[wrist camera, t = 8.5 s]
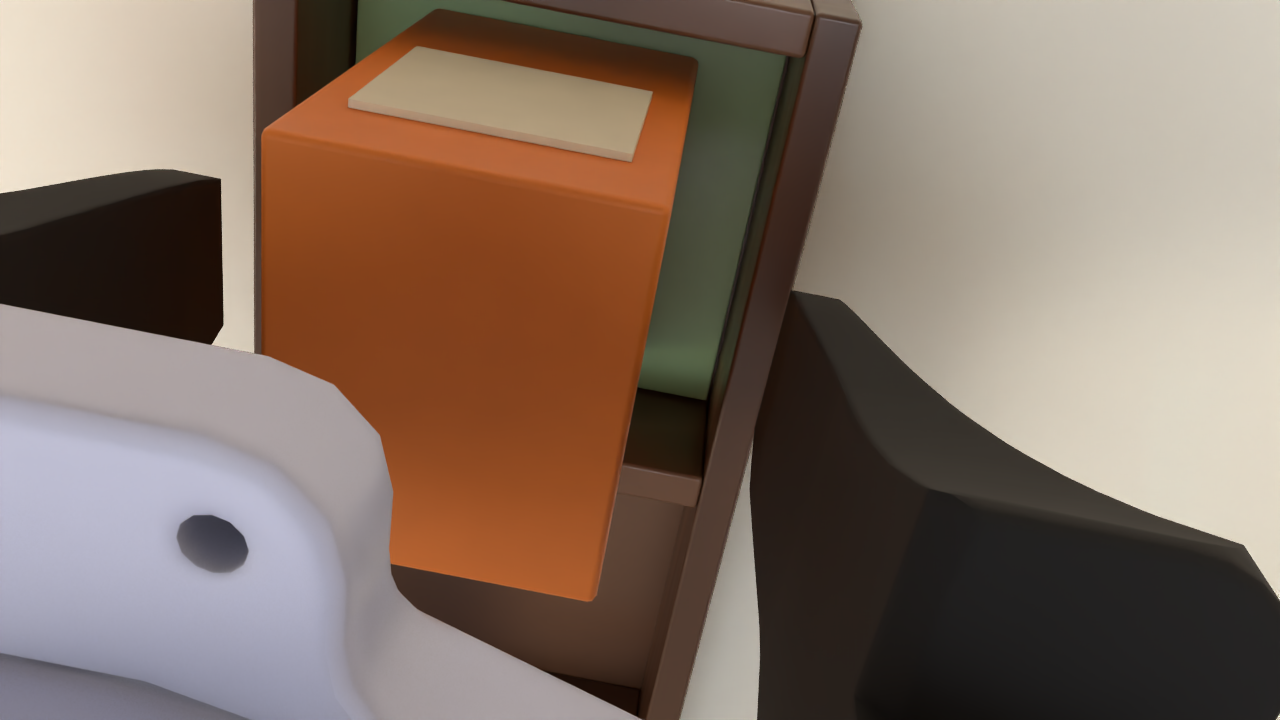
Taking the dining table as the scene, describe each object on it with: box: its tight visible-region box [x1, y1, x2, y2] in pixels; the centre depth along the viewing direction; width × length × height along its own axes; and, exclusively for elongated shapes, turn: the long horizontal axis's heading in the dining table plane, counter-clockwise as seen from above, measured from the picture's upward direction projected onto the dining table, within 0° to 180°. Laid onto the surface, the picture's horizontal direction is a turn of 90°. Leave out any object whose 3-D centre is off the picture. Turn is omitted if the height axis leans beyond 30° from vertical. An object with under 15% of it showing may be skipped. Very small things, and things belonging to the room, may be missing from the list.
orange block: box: [261, 9, 698, 602], centre depth 14 cm, size 4×5×6 cm
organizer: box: [253, 0, 862, 720], centre depth 20 cm, size 8×22×3 cm, turn 170°
